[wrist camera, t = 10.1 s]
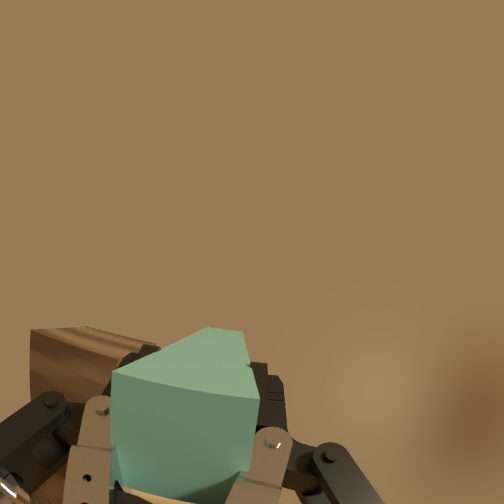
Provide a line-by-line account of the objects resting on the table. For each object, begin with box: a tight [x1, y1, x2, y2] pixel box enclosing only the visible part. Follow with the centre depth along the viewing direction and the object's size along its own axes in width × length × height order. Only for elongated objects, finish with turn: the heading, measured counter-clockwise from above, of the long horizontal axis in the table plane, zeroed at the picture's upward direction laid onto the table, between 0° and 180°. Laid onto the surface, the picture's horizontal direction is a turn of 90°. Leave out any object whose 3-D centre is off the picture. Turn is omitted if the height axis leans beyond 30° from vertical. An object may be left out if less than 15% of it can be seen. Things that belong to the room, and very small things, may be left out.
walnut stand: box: [30, 326, 156, 504], centre depth 23 cm, size 12×10×32 cm
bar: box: [110, 327, 260, 504], centre depth 19 cm, size 26×4×4 cm, turn 3°
